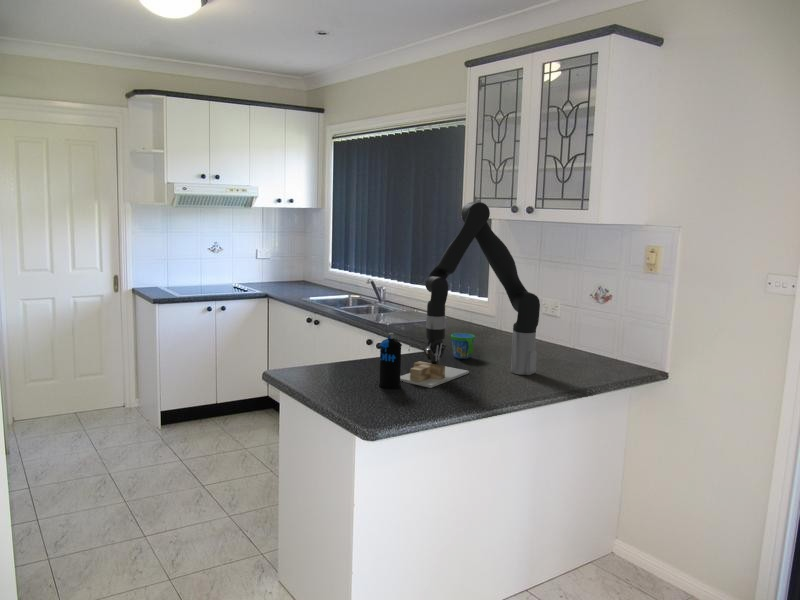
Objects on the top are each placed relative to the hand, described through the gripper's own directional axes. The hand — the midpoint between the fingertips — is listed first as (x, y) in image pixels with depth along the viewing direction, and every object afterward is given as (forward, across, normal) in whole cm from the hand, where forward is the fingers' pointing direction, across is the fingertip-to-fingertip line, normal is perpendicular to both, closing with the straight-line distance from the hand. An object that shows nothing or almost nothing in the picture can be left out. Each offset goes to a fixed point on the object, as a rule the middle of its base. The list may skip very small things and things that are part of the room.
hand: (434, 369), depth 261 cm
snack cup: (+3, +35, +8) cm, 36 cm away
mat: (+3, -1, 0) cm, 3 cm away
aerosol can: (+2, -23, +5) cm, 24 cm away
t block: (+2, -8, 0) cm, 8 cm away
